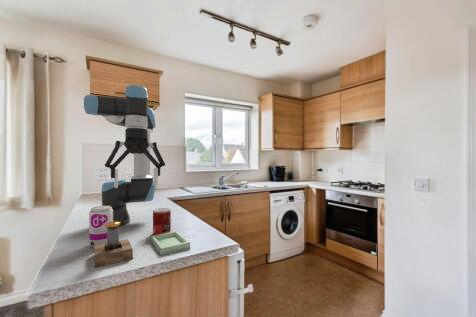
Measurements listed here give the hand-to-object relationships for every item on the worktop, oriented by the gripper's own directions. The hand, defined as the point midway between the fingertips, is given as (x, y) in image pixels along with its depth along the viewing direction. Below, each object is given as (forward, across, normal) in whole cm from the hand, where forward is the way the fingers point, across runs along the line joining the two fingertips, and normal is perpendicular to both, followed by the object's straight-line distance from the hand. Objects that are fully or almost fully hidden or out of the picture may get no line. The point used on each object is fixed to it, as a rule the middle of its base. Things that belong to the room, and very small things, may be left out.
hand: (136, 186), depth 82 cm
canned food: (+25, +14, +16) cm, 33 cm away
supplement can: (+25, -10, +17) cm, 32 cm away
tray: (+24, +12, 0) cm, 27 cm away
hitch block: (+24, -8, +1) cm, 26 cm away
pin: (+24, -8, +1) cm, 26 cm away
